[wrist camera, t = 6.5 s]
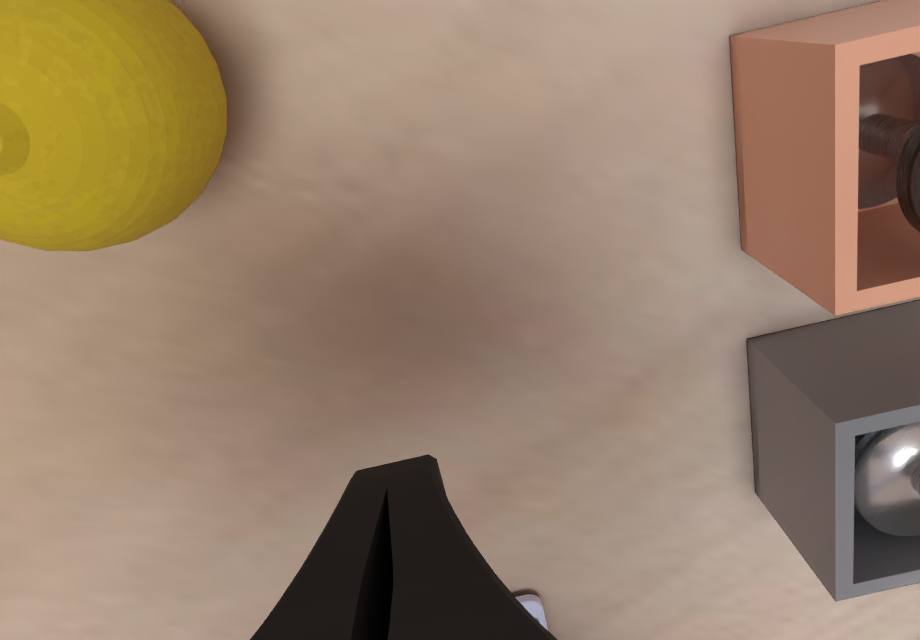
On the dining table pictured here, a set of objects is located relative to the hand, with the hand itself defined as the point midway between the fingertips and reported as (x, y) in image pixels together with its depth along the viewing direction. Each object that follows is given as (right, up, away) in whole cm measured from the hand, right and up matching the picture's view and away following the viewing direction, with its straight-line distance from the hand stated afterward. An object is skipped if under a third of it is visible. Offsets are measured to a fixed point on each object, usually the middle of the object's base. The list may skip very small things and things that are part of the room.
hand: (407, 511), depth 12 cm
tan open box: (+11, +9, +8) cm, 16 cm away
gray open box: (+13, +1, +12) cm, 18 cm away
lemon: (-7, +9, +7) cm, 13 cm away
